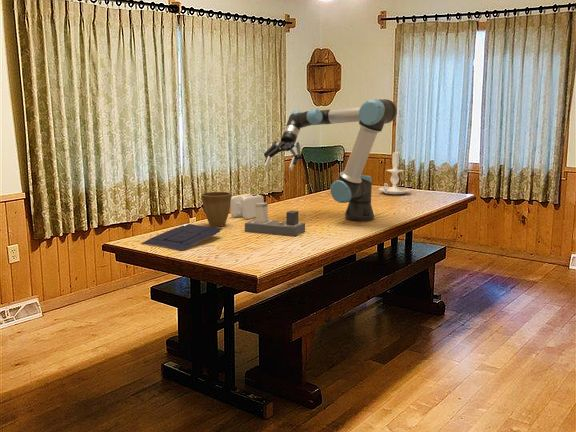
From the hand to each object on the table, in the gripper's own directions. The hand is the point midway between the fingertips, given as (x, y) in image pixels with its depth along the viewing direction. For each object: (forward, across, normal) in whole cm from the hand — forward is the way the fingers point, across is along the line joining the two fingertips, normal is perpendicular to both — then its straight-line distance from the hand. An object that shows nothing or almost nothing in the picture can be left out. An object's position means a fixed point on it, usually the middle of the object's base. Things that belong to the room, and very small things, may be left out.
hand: (278, 168), depth 307 cm
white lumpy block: (+15, +21, -24) cm, 36 cm away
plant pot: (+33, +25, -6) cm, 42 cm away
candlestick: (-60, -32, -99) cm, 120 cm away
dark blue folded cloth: (+57, +22, +17) cm, 64 cm away
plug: (+33, 0, -5) cm, 33 cm away
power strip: (+34, -7, -6) cm, 35 cm away
